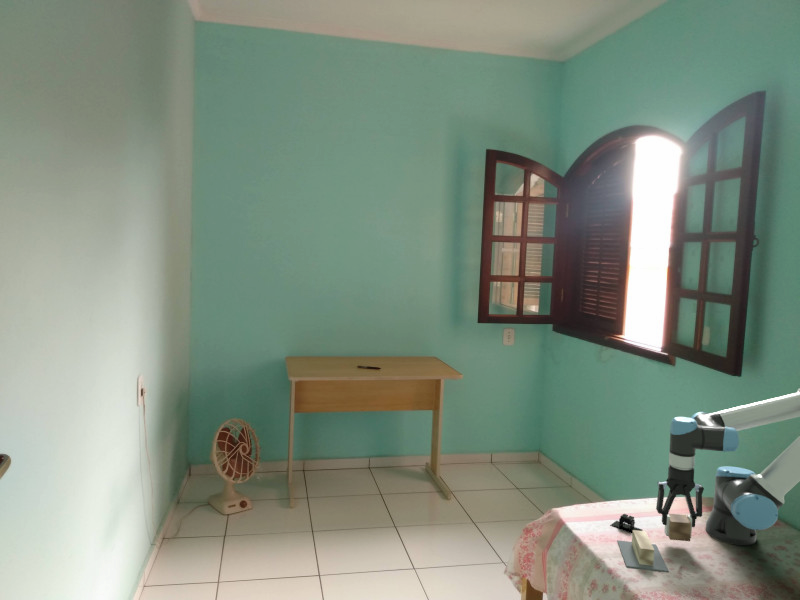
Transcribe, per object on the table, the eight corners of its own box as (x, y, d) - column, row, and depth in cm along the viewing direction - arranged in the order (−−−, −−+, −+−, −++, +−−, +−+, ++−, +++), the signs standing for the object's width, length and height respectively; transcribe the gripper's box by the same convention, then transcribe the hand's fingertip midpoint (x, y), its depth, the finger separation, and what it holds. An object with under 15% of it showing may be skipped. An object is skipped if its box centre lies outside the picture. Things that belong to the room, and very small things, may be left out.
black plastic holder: (648, 532, 208) (649, 519, 208) (639, 539, 203) (641, 526, 203) (613, 519, 217) (614, 507, 216) (604, 526, 211) (605, 513, 211)
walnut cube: (684, 532, 200) (685, 514, 199) (690, 541, 194) (691, 523, 193) (665, 530, 201) (666, 513, 200) (670, 539, 195) (671, 521, 195)
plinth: (644, 546, 197) (645, 531, 196) (653, 565, 185) (654, 549, 184) (631, 544, 197) (632, 529, 197) (639, 564, 186) (640, 548, 185)
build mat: (656, 545, 198) (656, 544, 198) (668, 572, 182) (668, 570, 182) (617, 541, 200) (617, 540, 200) (626, 567, 184) (626, 565, 184)
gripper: (709, 463, 197) (705, 532, 199) (647, 459, 200) (644, 527, 203) (717, 472, 190) (713, 543, 192) (652, 468, 193) (649, 538, 195)
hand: (677, 534), depth 197 cm, fingers closed on walnut cube, 6 cm apart
